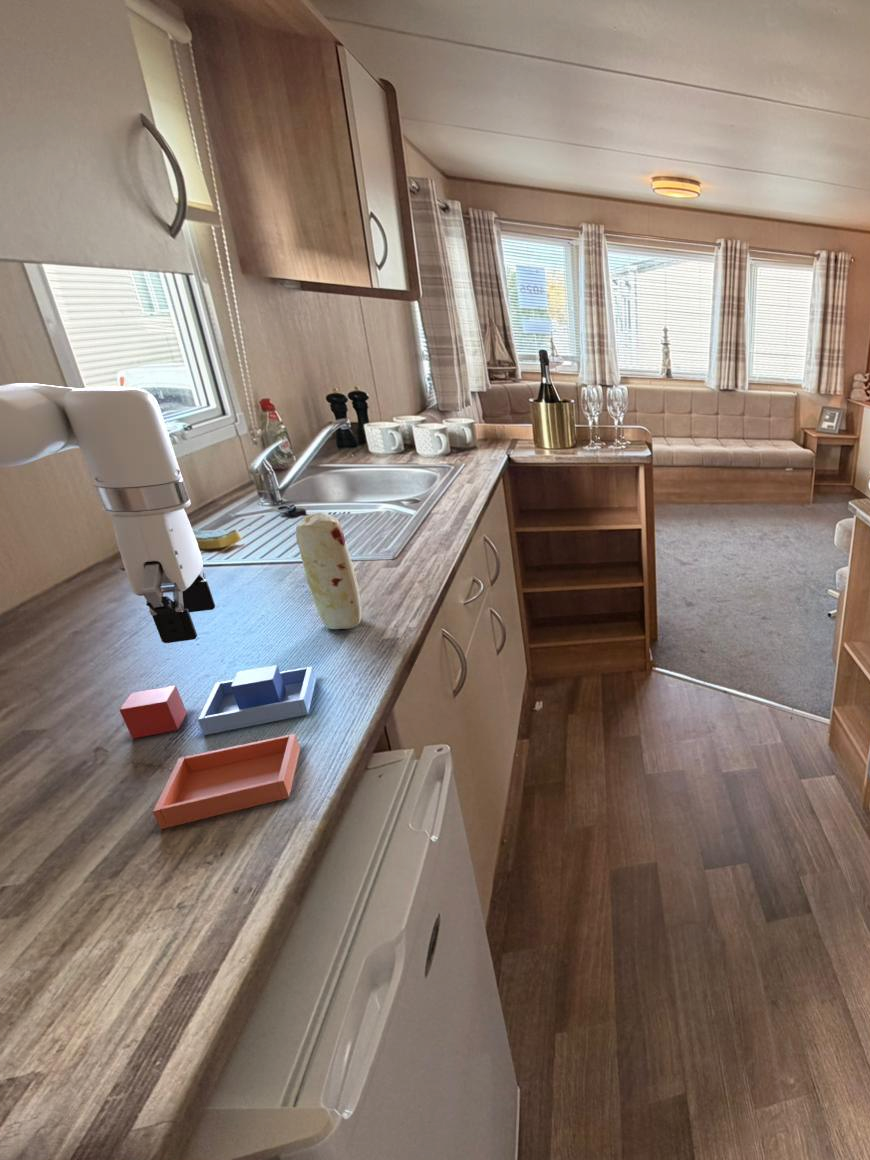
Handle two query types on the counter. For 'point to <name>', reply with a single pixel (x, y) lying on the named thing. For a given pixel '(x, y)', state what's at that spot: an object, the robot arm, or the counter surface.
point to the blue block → (258, 687)
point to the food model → (329, 571)
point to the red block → (153, 711)
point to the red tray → (228, 780)
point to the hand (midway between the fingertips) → (190, 624)
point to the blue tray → (227, 716)
